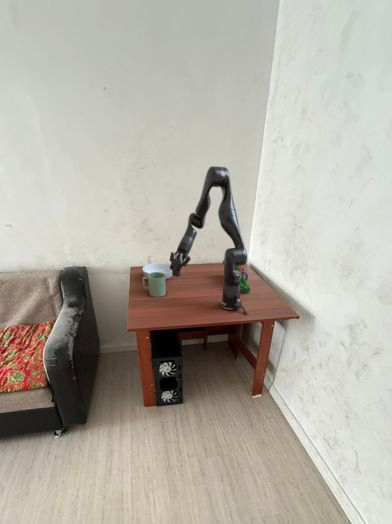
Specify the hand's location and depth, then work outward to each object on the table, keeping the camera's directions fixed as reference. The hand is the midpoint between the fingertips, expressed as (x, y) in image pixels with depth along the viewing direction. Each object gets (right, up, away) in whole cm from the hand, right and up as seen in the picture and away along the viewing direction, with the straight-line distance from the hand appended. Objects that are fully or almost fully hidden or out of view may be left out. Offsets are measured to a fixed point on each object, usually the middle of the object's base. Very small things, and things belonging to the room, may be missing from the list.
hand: (174, 270), depth 176 cm
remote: (+1, -2, +4) cm, 5 cm away
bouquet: (+41, -5, +18) cm, 45 cm away
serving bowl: (-12, 0, +22) cm, 26 cm away
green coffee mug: (-12, -13, +4) cm, 18 cm away
